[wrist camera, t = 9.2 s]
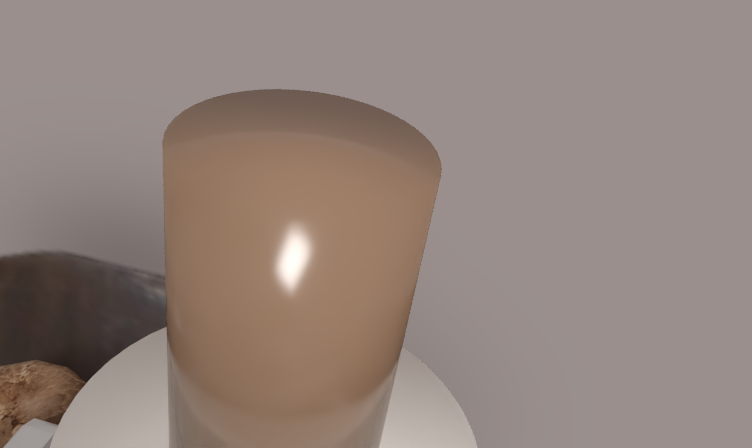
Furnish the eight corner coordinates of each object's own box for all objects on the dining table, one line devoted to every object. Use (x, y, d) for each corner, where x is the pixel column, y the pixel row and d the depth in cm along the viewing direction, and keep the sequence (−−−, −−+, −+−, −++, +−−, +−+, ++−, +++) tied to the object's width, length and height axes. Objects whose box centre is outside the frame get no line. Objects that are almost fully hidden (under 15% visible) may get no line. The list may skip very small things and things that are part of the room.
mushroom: (63, 335, 38) (17, 311, 32) (158, 448, 36) (128, 445, 30) (-71, 444, 36) (-148, 439, 30) (25, 568, 34) (-35, 590, 28)
